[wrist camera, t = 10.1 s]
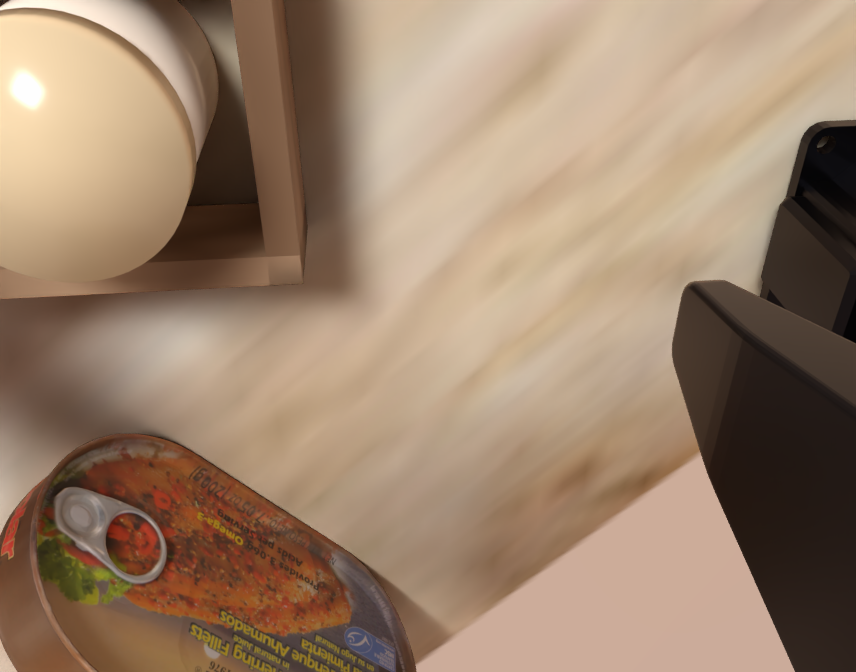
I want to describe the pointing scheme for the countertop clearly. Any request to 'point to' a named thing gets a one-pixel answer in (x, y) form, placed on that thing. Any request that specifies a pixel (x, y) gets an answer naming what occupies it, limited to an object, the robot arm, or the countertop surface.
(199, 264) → the caddy
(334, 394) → the countertop surface
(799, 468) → the robot arm
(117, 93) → the cream lidded jar
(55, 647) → the tin
